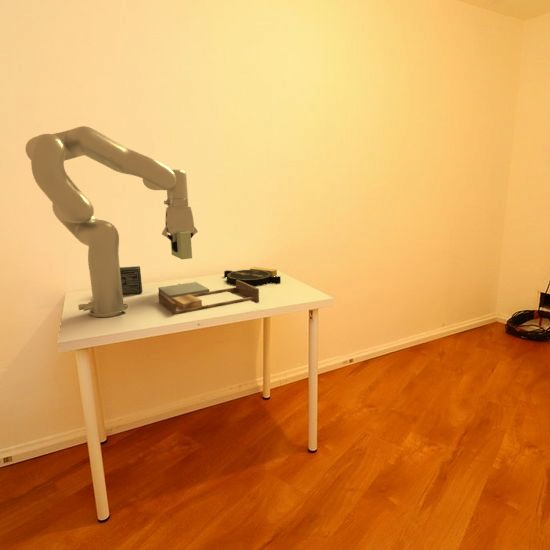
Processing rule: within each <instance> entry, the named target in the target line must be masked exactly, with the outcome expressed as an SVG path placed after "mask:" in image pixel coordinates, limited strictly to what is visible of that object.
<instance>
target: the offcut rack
mask: <svg viewBox="0 0 550 550" xmlns="http://www.w3.org/2000/svg"><path fill="white" fill-rule="evenodd" d="M259 289H260V288H258V287H257V286H251V285H249V284H247V283H245V282H242V281H240V280H236V285H235V287H229V288H223V289H218V290H217V289H216V290H211V291H209V292H205V293H199V294H193V295H192V296H194V297H196V298H198V297H203V296H208V295H214V294H215V295H216V294H219V293H225V292H227V293H229V294H235V293H237V292H238V294H239V293H240V294H239V295H241V294H242V296H244V297H243V298H238V299H234V300H228V301H222V302H217V303H212V304H207V305H202V306H200V307H195V308H189V309H184V310H180V309H179V310H177V307H176V303H175V302H174V301H173V300H172V298H169V297H167V296H166V295H165V294H163V293H162V292H159V291H158V293H157V294H158V302H159V304H160V305H162V306H163V307H164V308H165V309H166V310H167V311H169V313H172V315H173V316H174V315H179V314H185V313H191V312H196V311H200V310H206V309H212V308H216V307H222V306H226V305H233V304H237V303H242V302H247V301H250V302H253V303H257V302H258V303H259V302H260V290H259Z"/></svg>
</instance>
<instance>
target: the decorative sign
mask: <svg viewBox="0 0 550 550" xmlns="http://www.w3.org/2000/svg"><path fill="white" fill-rule="evenodd" d="M277 273H278V271H277V269H276V268H268V267H258V266H253V267H250V268H249V269H239V270H224V271H223V277H227V278H226V283H227V284H229V283H230V284H229V285H231V284H233V285H232V286H236V280H240V281H242V282H245V283H247V284H249V285H251V286H254V287H258V285H260V286H264V284H265V285H268V284H276V283H277V284H281V282H282V281H281V276H280V275H277ZM276 275H277V276H276ZM274 276H275V277H274ZM267 283H268V284H267Z"/></svg>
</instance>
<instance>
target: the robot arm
mask: <svg viewBox="0 0 550 550" xmlns="http://www.w3.org/2000/svg"><path fill="white" fill-rule="evenodd" d="M25 153H26V156H27V157H28V159H29V160H30V165H31V171H32V175H33V179H34V181H35V183H36V184H37V186H38V187H39V189H40V190H41V191H42V192H43V194H44V195H45V196H46V197H47V199H48V200H49V201H51V203H52V205H51V206H52V211H53V214H54V215H55V217H56V218H57V220H59V222H60V223H61V224H62V225H63V226H64V227H65V228H66V229H67V230H68V231H69V232H70V234H72V235H73V237H75V238H76V239H77V240H78V241H79V242H80V243H81V244H83V245H85V246H87V247H88V253H87V264H88V270H89V278H90V285H91V286H90V287H91V294H92V298H91V299H90V301H88V303H80V304H77V305H78V306H77V307H78V310H79V311H82V310H83V312H86V311H89V315H90V316H91V317H95V318H109V317H110V318H111V317H114V316H115V317H116V316H119V315H123V314H125V313H126V311H125V310H127V309H128V308H129V305H128V304H126V303H125V302H124V297H123V296H124V295H123V293H122V284H121V274H120V267H121V266H120V258H119V257H120V256H119V249H120V247H119V246H120V237H119V236H120V234H119V232H118V229H117V228H116V226H115V225H114V224H113V223H111V222H109V221H107V220H104V219H97V218H96V216H94V213H95V210H94V206H93V204H92V202H91V201H90V200H89V199H88V198H87V196H85V194H84V193H83V192H82V191H81V190H80V189H79V188H78V186H77V185H76V184H75V183H74V181H73V180H72V179H71V178H70V176H69V175H68V174H67V172H66V170H65V161H68V160H69V161H70V160H72V159H75V158H79V157H82V156H85V157H88V158H89V159H91V160H93V161H95V162H97V163H100V164H102V165H104V166H105V167H107V168H109V169H111V170H112V171H115V172H117V173H120V174H124V175H129V176H135V177H138V178H141V179H142V183H143V185H144V186H145V188H147V189H149V190H152V191H166V197H167V198H166V200H163V204H164V205H167V207H166V209H165V218H164V219H165V221H164V222H165V226H164V228H163V229H162V232H161V235H162V236H164V237H165V238H167V239H168V240H169V241H170V242H171V241H172V250H173V251H174V252H178V250H177V242H176V234H177V232H185V231H188V232H191V239H192V238H193V237H194V236H195V235H196V234H197V233H198V232H199V231H198V230H197V228H196V227H195V222H194V216H193V211H192V207H191V206H189V198H188V196H189V195H188V180H187V179H188V178H187V172H186V171H185V169H184V170H183V169H170V167H168V166H166V165H164V164H163V163H162V162H159V161H157V159H154V158H152V157H149V156H147V155H144V154H142V153H140V152H137V151H135V150H132V149H130V148H127V147H126V146H124V145H122V144H121V143H118V142H116V141H115V140H114V139H111V138H109V137H108V136H106V135H105V134H103V133H102V132H100V131H98V130H96V129H93V128H91V127H89V126H85V125H83V126H78V127H75V128H71V129H68V130H64V131H62V132H61V131H60V132H55V133H42V134H39V135H37V136H34V137H32V138H30V139H28V140H27V143H26V144H25ZM170 234H171V236H170Z"/></svg>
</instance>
